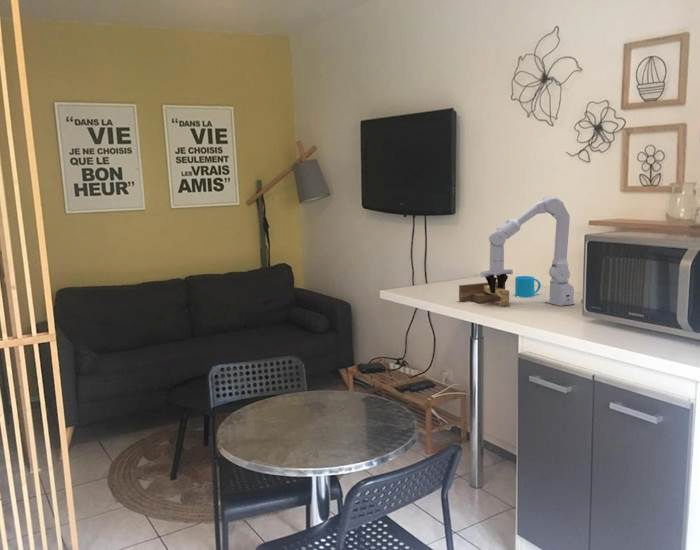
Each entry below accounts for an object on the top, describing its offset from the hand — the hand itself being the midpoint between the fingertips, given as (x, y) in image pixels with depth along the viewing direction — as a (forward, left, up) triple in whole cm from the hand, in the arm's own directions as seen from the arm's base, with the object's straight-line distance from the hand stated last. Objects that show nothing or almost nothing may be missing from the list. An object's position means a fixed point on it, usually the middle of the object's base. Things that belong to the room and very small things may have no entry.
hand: (496, 292), depth 263 cm
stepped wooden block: (+6, 0, -5) cm, 8 cm away
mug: (+9, -23, -5) cm, 25 cm away
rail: (0, 0, -4) cm, 4 cm away
